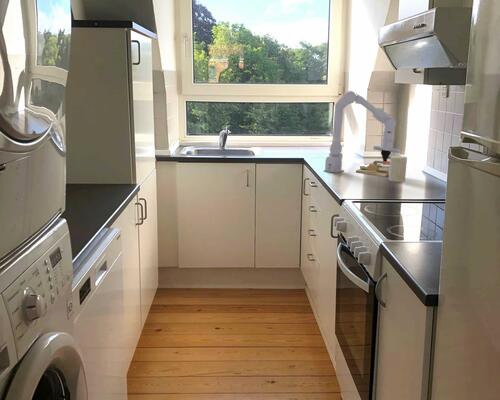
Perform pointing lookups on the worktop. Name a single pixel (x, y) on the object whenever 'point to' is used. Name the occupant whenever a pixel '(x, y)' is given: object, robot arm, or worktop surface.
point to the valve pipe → (374, 168)
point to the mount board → (372, 172)
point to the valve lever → (382, 162)
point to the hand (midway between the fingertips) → (384, 164)
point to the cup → (397, 168)
